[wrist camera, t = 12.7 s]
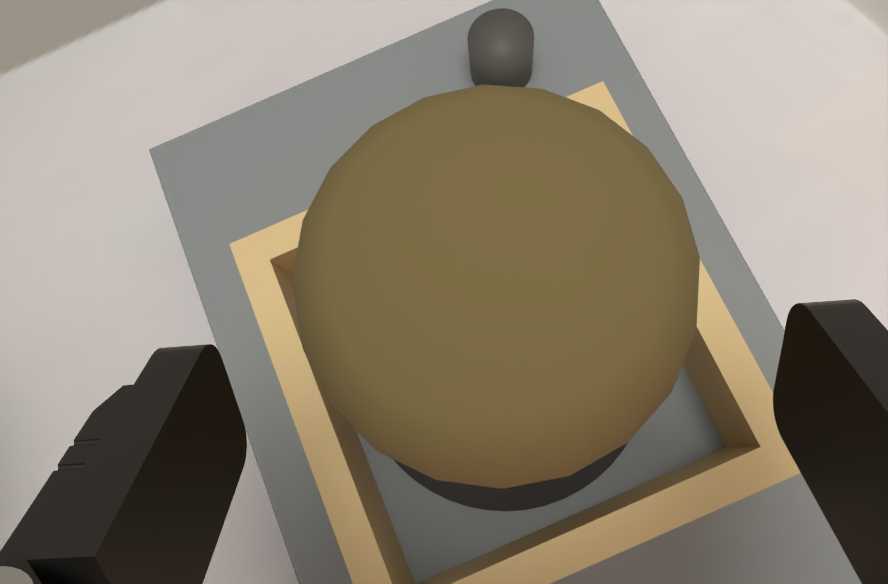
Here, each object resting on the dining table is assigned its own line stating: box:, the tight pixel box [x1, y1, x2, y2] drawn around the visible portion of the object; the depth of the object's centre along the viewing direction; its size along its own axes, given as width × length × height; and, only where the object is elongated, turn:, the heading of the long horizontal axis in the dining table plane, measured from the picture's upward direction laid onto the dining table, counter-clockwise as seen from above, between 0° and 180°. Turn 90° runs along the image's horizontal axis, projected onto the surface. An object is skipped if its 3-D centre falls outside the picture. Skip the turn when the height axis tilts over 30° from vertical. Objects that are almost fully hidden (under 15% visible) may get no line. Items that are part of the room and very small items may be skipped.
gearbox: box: [149, 0, 862, 584], centre depth 19 cm, size 24×14×6 cm, turn 23°
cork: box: [292, 85, 700, 490], centre depth 13 cm, size 6×6×11 cm
